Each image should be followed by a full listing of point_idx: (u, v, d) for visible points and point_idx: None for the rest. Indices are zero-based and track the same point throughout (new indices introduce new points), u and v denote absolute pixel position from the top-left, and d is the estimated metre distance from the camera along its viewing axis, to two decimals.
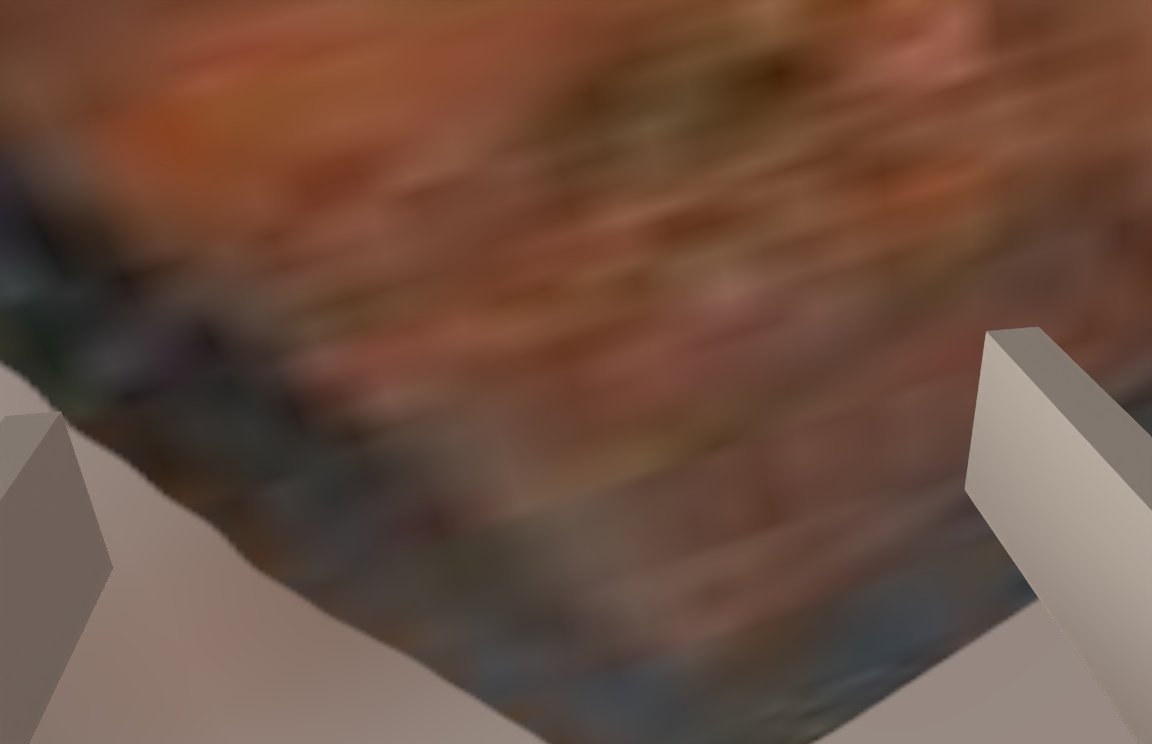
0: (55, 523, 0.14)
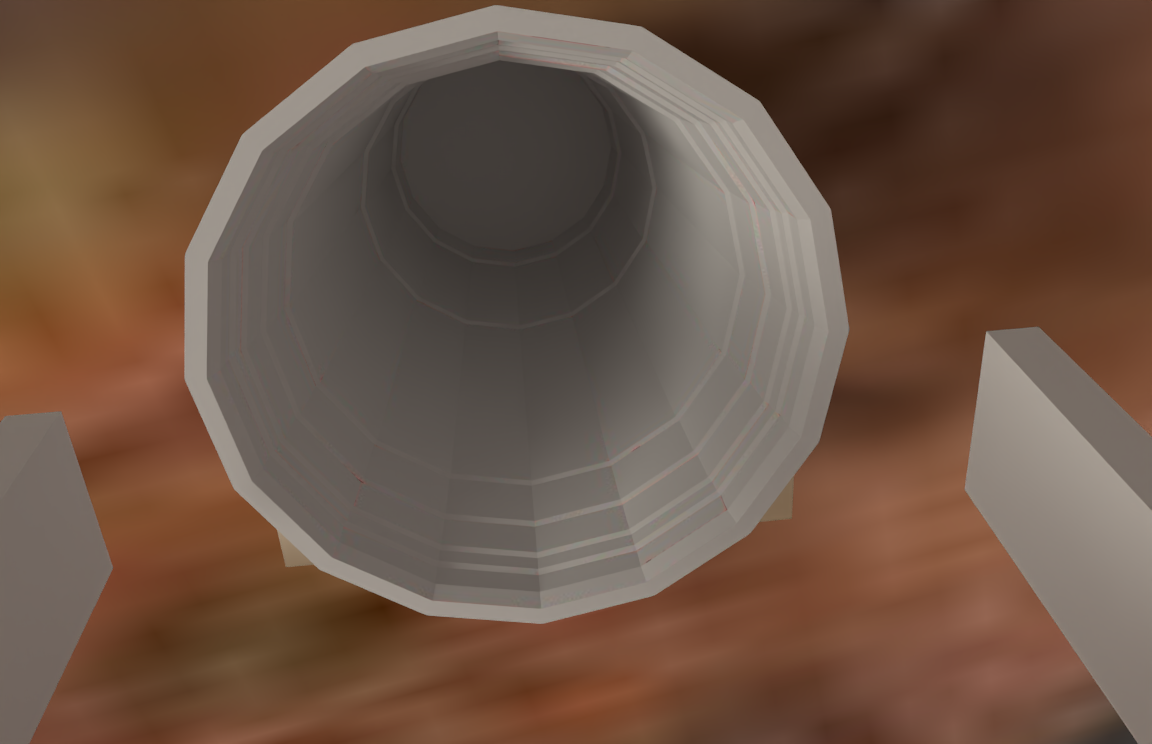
0: (55, 523, 0.14)
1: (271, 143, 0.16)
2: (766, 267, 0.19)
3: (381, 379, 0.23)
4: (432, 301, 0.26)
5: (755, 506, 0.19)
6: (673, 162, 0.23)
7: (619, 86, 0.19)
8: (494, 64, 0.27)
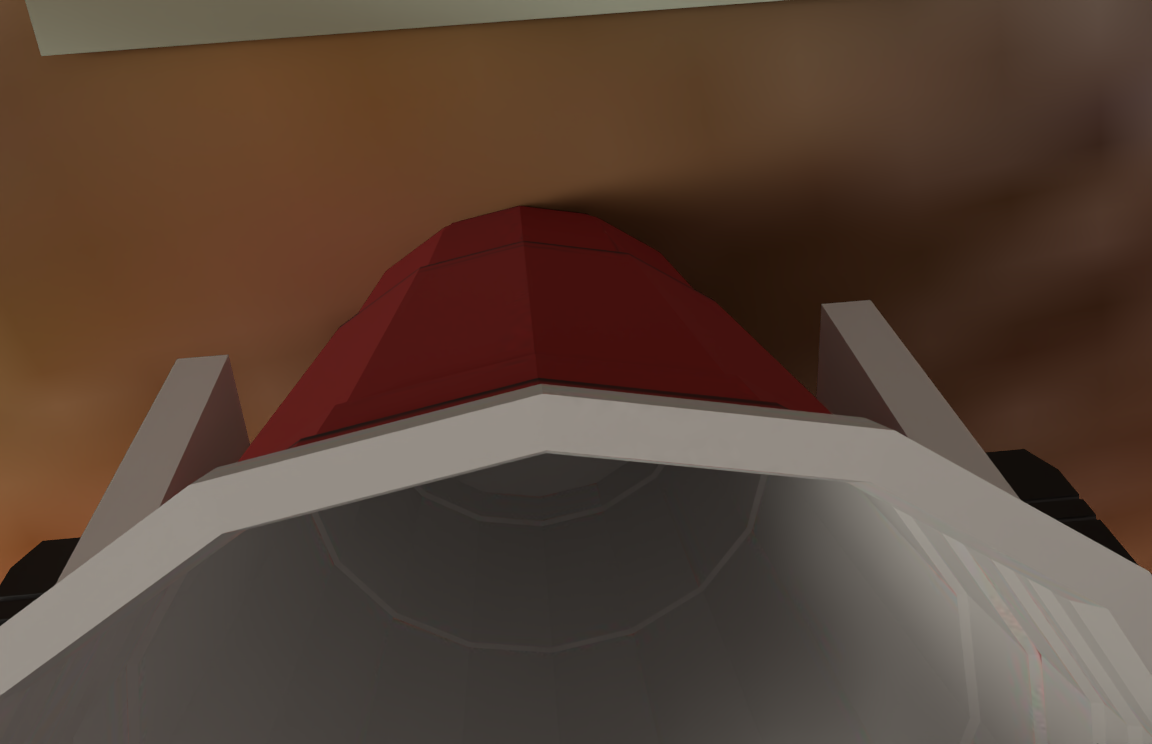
0: (228, 456, 0.16)
1: (8, 688, 0.07)
2: None
3: None
4: (418, 616, 0.17)
5: None
6: None
7: None
8: None
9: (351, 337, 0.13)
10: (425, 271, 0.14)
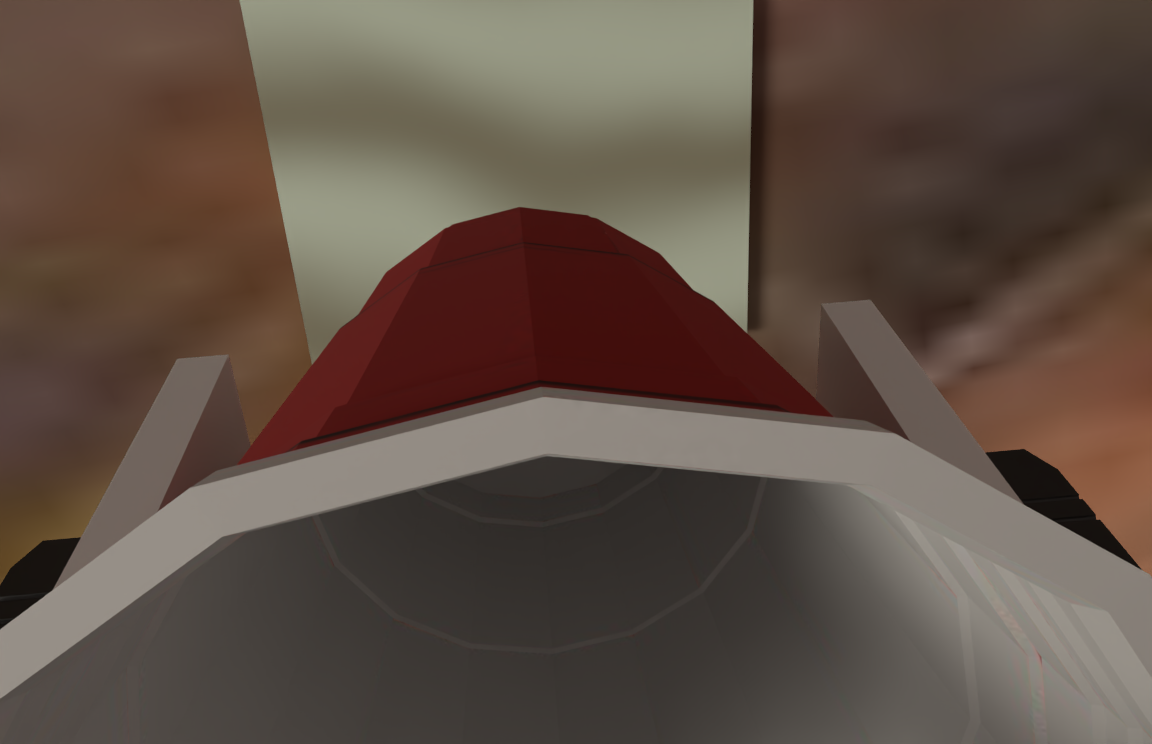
0: (228, 456, 0.16)
1: (9, 691, 0.07)
2: None
3: None
4: (417, 616, 0.17)
5: None
6: None
7: None
8: None
9: (351, 339, 0.13)
10: (425, 272, 0.14)
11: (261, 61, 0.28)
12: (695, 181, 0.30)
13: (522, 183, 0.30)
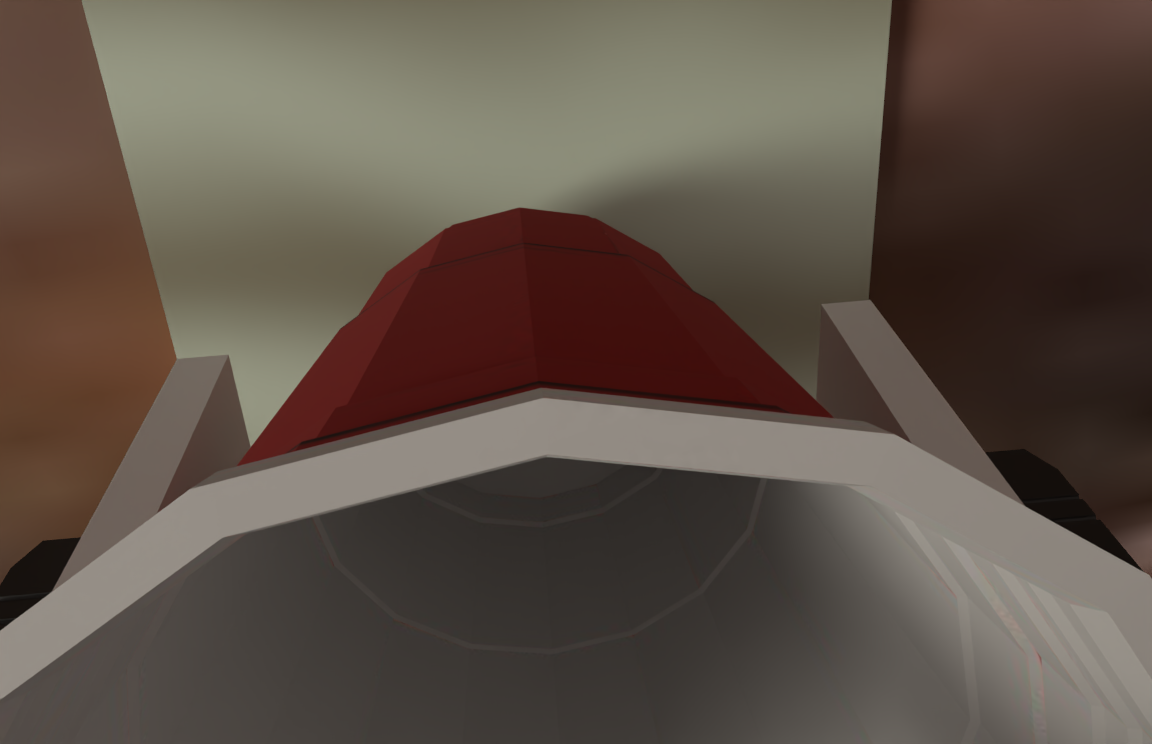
0: (228, 455, 0.16)
1: (9, 692, 0.07)
2: None
3: None
4: (418, 617, 0.17)
5: None
6: None
7: None
8: None
9: (351, 339, 0.13)
10: (425, 273, 0.14)
11: (148, 195, 0.19)
12: (786, 352, 0.21)
13: None
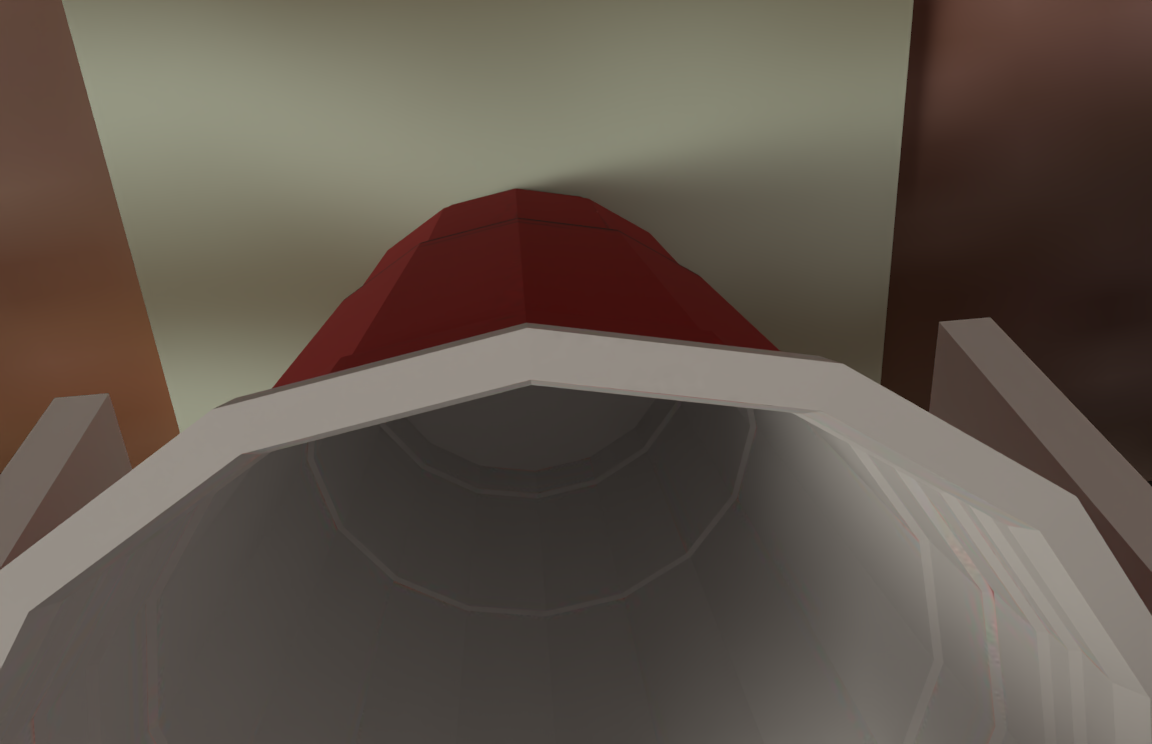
0: None
1: (48, 597, 0.08)
2: (1001, 689, 0.11)
3: None
4: (417, 580, 0.18)
5: None
6: (798, 422, 0.14)
7: None
8: None
9: (355, 306, 0.13)
10: (425, 246, 0.14)
11: (136, 216, 0.18)
12: None
13: None
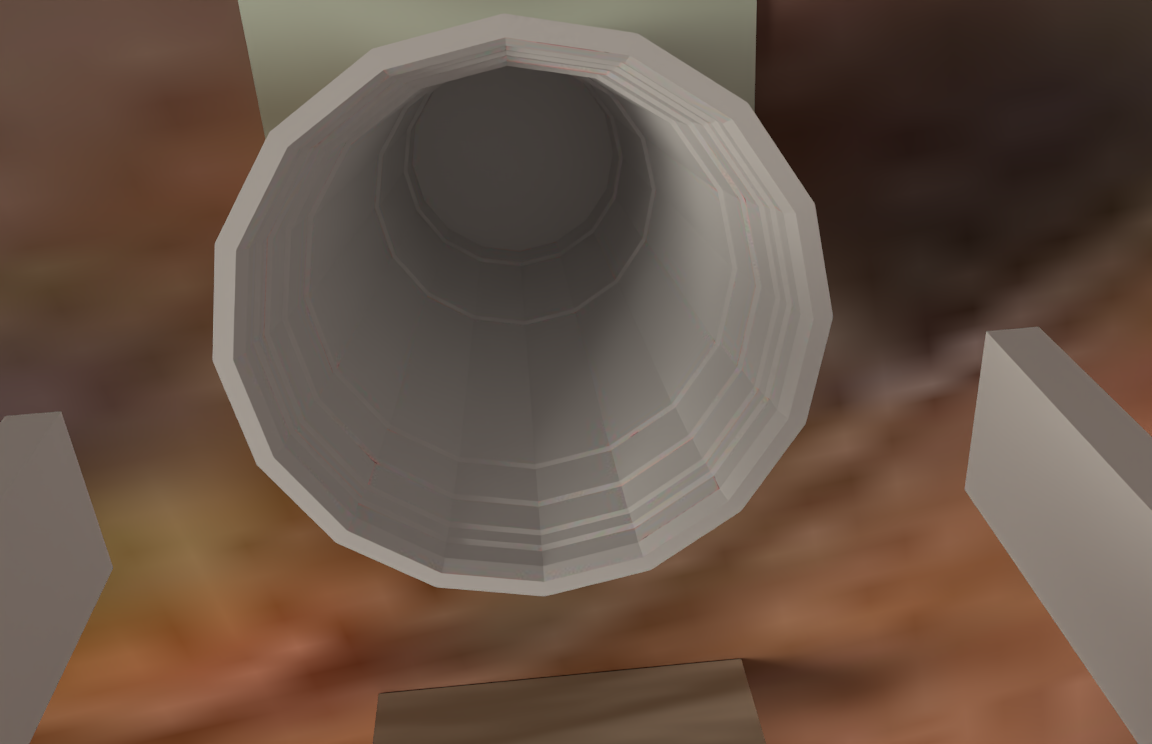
0: (55, 523, 0.14)
1: (296, 140, 0.17)
2: (756, 260, 0.21)
3: (393, 368, 0.24)
4: (442, 297, 0.27)
5: (745, 485, 0.20)
6: (671, 164, 0.24)
7: (618, 90, 0.20)
8: (501, 72, 0.28)
9: None
10: None
11: (260, 65, 0.28)
12: None
13: None
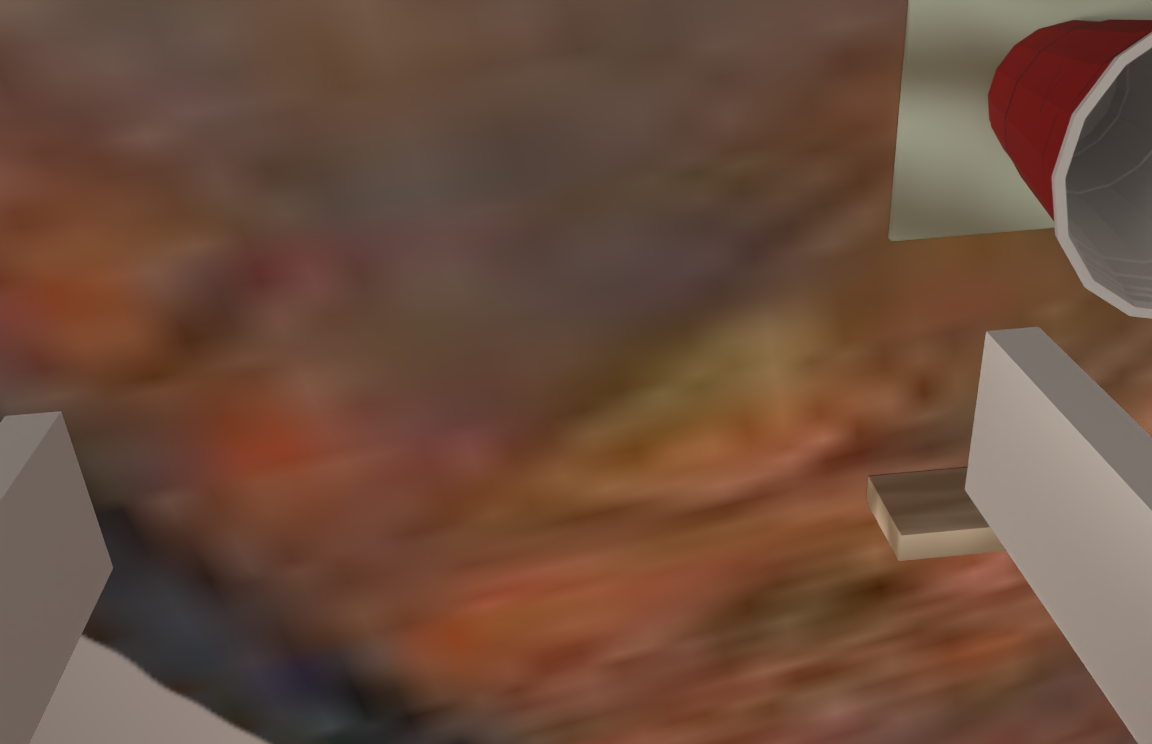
0: (55, 523, 0.14)
1: (1130, 61, 0.34)
2: None
3: None
4: None
5: None
6: None
7: None
8: None
9: (1073, 42, 0.40)
10: (1080, 28, 0.41)
11: (914, 32, 0.44)
12: None
13: None
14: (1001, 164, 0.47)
